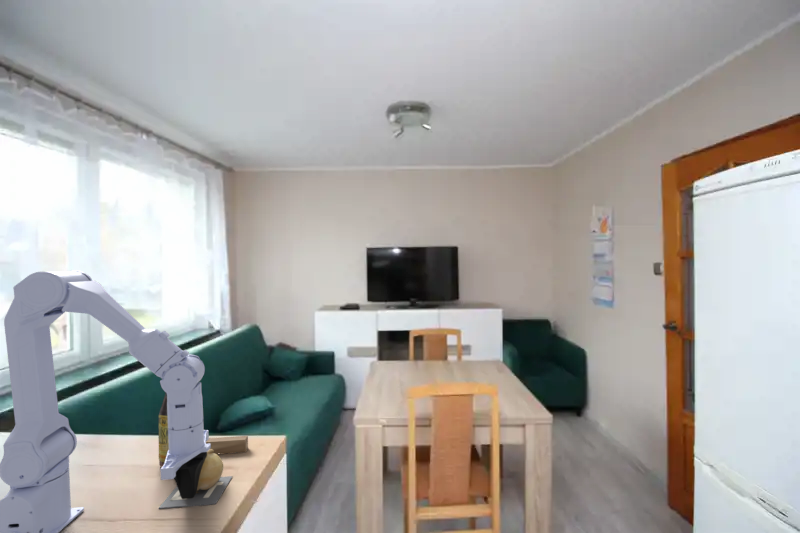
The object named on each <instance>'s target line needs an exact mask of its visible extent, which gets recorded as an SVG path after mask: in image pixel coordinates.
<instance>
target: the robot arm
mask: <svg viewBox="0 0 800 533" xmlns="http://www.w3.org/2000/svg"><path fill="white" fill-rule="evenodd" d="M13 295H14V298H13V300H12V302H11V303H10V305H9V308H8V310H7V312H6V313H5V316H4V321H3V322H4V323H3V324H4V325H3V326H4V334H5V343H6V352H7V353H6V354H7V361H8V370H9V378H10V388H11V397H12V398H11V399H12V405H13V415H14V424H15V425H14V428H12V431H11V432H10V434H9V435H8V436H7V438H6V440H5V441H4V443H3V445H2V446H3V447H2V448H3V456H2V459H1V461H0V479H1V480H2V481H3V482H4V484H6V485H7V486H9V490H8V492H7V493H6V494H5V496H4V497H3V498H1V500H0V533H60V532H61V531H62V530H63V529H64V528H65V527H67V526H68V525H69V524H70V523H71V522H72V521H74V520H75V519H76V517H78V516H79V515H80V514H82V512H84V511H85V507H84V506H81V507H79V506H78V507H72V501H71V481H70V480H71V479H70V478H71V477H70V456H71V455H72V454H73V453H74V451H75V450H76V447H77V444H78V443H77V442H78V440H77V436H76V434H75V432H74V431H73V430H72V428H71V426H70V422H69V418H68V417H66V416H65V415H63V414H61V413H60V412H59V402H58V393H57V384H56V375H55V364H54V356H53V348H52V338H51V328H50V327H51V325H52V324H53V323H54V322H55V321H56V320H57V319H59V318H60V317H61V316H62V315H63V314H65V313H75V314H76V313H77V314H88V315H90V316H91V317H92V318H94V319H96V320H97V321H99V323H101V324H103V326H106V327H107V328H108V329H110V330H111V331H112V332H113V333H115V335H117V336H119V338H121V339H123V340H124V341H126V342H127V343H128V354H130V355H131V356H132V357H133V358H135V360H136V361H138V362H139V363H141V364H142V365H143V367H145V368H147V369H148V370H149V371H150V372H151V373H153V374H154V375H156V377H158V378H160V379H161V380H160V381H159V383H160V386H161V389H162V390H163V391H164V393H165V392H166V393H167V415H168V440H169V450H168V452H167V456H166V459H165V463H164V465H163V467H161V468H160V469H159V470H160V481H165V480H166V481H167V480H173V481H174V482H175V484H176V487H178V490H179V493H180V495H181V498H182V499H188V498H193V497H194V496H195V495H196V491H197V487H198V481H199V476H200V472H201V469H202V466H203V463H204V461H205V459H206V457H207V451H208V450H209V449H210V448H211V444H209V443H208V444H206V441H207V440H208V439H209V438H210V437H209V430H208V429H204V408H203V407H204V406H203V393H202V382H201V381H202V379H203V376H204V375H205V370H206V367H205V364H204V362H203V360H201V359H200V356H198V355H195V354H190V353H189V351H188V350H187V349H184V350H182V348H181V347H179V346H178V345H177V344H176V343H174V341H172V340H171V339H170V338H169V337H170V334H169V333H168V332H167V331H166V330H163V331H160V330H159V329H157V328H146V327H144V326H143V325H142V324H141V323H140V322H139V321H138V320H137V319H136V318H135V317H134V316H132V315H131V314H130V313H129V312H128V311H127V310H126V309H125V308H124V307H123V306H121V304H120V303H119V302H118V301H116V299H114V298H113V297H112V296H111V295H110V294H109V293H108V292H107V291H106V290H105V288H104V286H102V284H101V283H100V282H98V281H96V280H93V279H92V277H91V276H90V275H89V274H87V273H86V272H84V271H81V270H77V269H76V270H75V269H73V270H72V269H71V270H66V271H44V270H42V271H35V272H34V273H33V272H32V273H31V274H29V275H27V276H26V277H24V278H23V279H22V280H21V281H20V282H18V283H17V284H16V285H14V286H13Z"/></svg>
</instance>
